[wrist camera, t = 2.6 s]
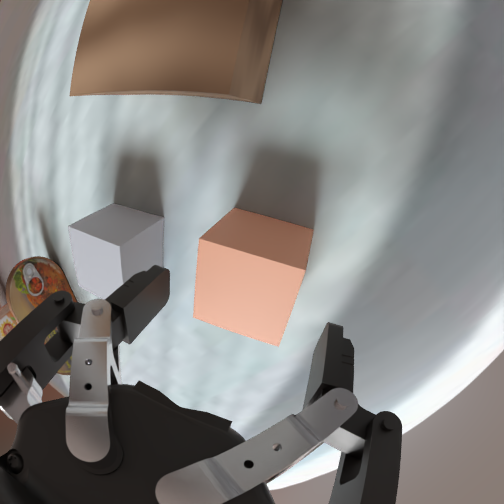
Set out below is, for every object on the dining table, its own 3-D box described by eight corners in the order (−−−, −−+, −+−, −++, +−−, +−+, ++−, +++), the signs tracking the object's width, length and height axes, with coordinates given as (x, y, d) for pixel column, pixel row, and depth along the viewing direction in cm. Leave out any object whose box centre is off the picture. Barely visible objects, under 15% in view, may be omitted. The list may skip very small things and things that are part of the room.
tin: (103, 348, 30) (66, 390, 23) (89, 343, 31) (54, 382, 24) (53, 243, 24) (-2, 279, 17) (42, 245, 25) (-9, 278, 18)
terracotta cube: (234, 207, 17) (199, 238, 12) (313, 229, 16) (305, 270, 12) (224, 273, 19) (193, 317, 15) (293, 295, 18) (278, 346, 14)
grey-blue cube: (114, 203, 19) (68, 226, 15) (164, 217, 19) (119, 246, 14) (117, 256, 22) (78, 285, 17) (163, 275, 21) (126, 311, 17)
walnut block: (151, -22, 10) (106, -42, 6) (289, -33, 9) (271, -77, 4) (123, 94, 15) (69, 96, 11) (261, 103, 13) (229, 94, 9)
